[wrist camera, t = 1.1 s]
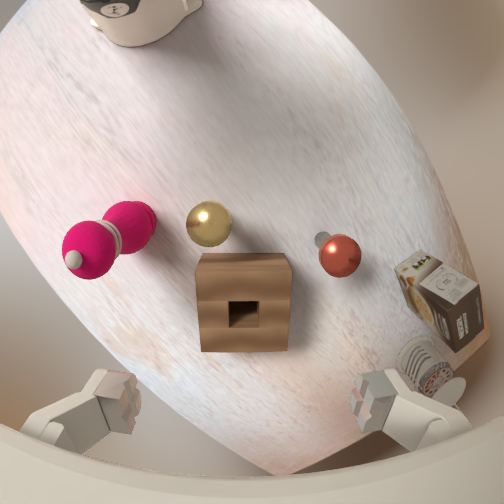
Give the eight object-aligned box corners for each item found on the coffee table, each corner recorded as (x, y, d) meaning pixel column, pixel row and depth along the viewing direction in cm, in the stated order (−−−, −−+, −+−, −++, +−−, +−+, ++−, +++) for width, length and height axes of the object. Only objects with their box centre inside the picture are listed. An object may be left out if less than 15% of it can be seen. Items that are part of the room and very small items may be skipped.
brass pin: (196, 195, 42) (185, 202, 33) (233, 194, 42) (231, 202, 33) (197, 231, 43) (187, 247, 35) (233, 230, 44) (231, 246, 35)
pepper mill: (139, 187, 41) (68, 206, 22) (168, 225, 43) (117, 270, 24) (107, 218, 42) (29, 255, 23) (135, 254, 44) (73, 312, 25)
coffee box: (392, 268, 46) (445, 309, 31) (420, 248, 46) (479, 281, 30) (407, 307, 49) (455, 354, 33) (433, 288, 48) (485, 328, 32)
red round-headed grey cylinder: (307, 222, 44) (323, 236, 35) (340, 223, 44) (363, 237, 35) (305, 256, 45) (320, 278, 36) (337, 256, 45) (358, 277, 36)
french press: (442, 337, 51) (510, 409, 27) (417, 381, 54) (471, 458, 30) (409, 332, 50) (481, 416, 26) (384, 379, 53) (436, 468, 29)
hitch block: (202, 253, 44) (195, 271, 37) (283, 253, 45) (292, 270, 37) (206, 324, 48) (201, 351, 40) (280, 323, 48) (287, 351, 40)
